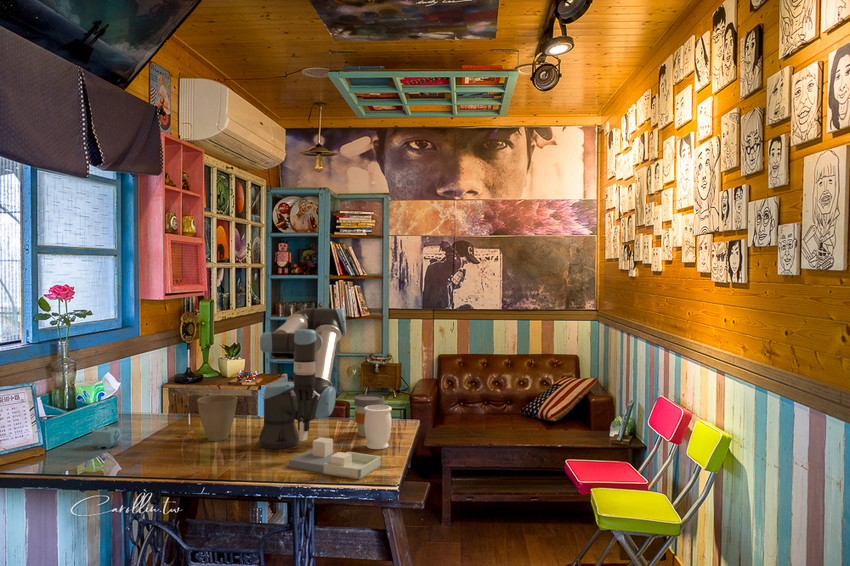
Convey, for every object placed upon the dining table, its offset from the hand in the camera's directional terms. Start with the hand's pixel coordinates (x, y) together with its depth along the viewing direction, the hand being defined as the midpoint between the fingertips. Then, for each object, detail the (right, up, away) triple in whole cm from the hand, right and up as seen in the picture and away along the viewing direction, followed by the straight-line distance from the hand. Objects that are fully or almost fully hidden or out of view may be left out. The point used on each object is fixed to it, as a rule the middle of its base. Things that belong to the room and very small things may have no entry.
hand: (303, 439), depth 200 cm
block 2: (+15, -6, -13) cm, 21 cm away
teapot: (-77, -6, +11) cm, 78 cm away
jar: (+25, -7, +16) cm, 30 cm away
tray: (+19, -7, -11) cm, 23 cm away
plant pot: (-39, -6, +23) cm, 46 cm away
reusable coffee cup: (+20, -7, +34) cm, 40 cm away
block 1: (+7, -4, -3) cm, 9 cm away
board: (+6, -7, -6) cm, 11 cm away
